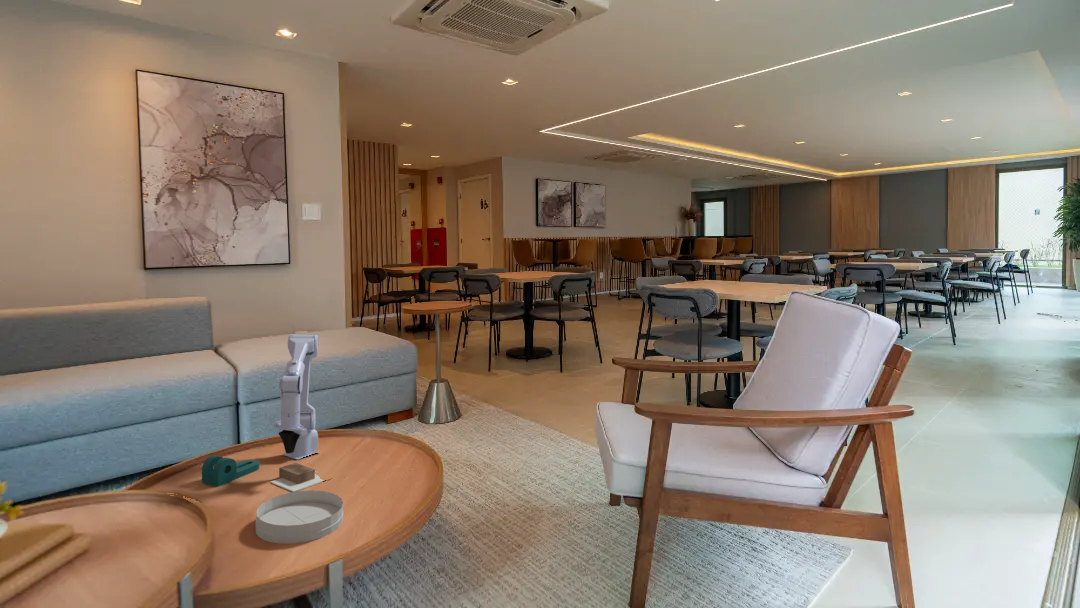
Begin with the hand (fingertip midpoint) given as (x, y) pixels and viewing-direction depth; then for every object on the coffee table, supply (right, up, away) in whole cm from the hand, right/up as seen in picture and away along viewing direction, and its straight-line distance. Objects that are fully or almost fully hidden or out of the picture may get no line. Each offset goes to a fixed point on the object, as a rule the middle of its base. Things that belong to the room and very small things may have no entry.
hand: (289, 452), depth 184 cm
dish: (+17, -12, -31) cm, 37 cm away
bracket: (-18, -8, -1) cm, 20 cm away
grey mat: (+5, -8, -3) cm, 10 cm away
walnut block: (-1, -6, +1) cm, 6 cm away
